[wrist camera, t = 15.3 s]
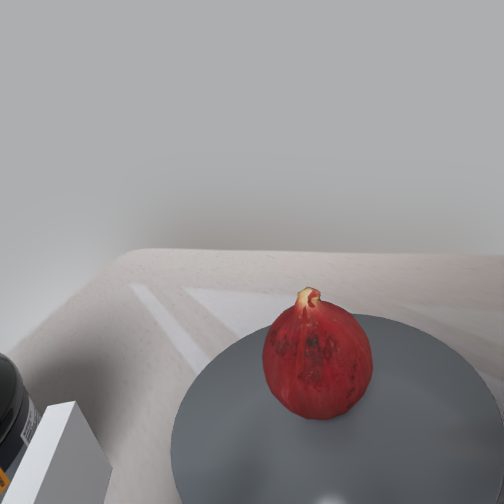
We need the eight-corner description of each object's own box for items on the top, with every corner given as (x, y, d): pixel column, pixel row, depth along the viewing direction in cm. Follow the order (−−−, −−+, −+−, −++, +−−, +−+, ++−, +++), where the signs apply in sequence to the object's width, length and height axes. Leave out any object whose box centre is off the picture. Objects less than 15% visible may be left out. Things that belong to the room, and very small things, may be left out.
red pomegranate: (381, 455, 22) (369, 327, 19) (268, 452, 24) (237, 333, 20) (373, 371, 27) (363, 258, 24) (280, 373, 29) (257, 267, 25)
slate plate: (423, 305, 34) (423, 294, 33) (597, 564, 18) (601, 549, 17) (189, 347, 34) (185, 337, 34) (151, 629, 18) (144, 617, 18)
